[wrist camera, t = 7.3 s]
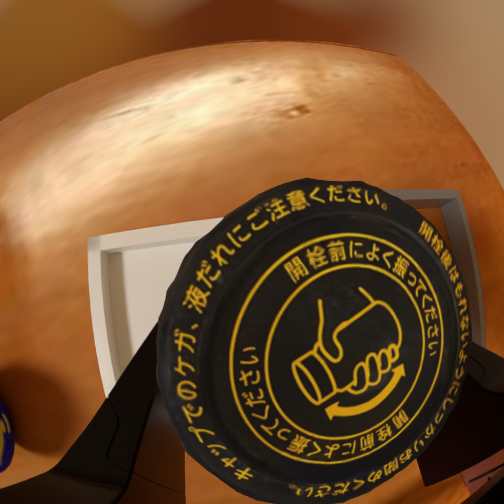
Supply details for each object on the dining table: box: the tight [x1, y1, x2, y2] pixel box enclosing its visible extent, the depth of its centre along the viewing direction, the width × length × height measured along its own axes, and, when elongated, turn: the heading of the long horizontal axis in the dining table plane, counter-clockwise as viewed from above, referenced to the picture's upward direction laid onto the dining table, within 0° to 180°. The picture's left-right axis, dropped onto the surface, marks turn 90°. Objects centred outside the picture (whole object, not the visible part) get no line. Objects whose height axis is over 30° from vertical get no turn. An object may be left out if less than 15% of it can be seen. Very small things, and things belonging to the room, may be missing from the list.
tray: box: [88, 217, 224, 398], centre depth 19 cm, size 16×15×2 cm
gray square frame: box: [383, 189, 486, 348], centre depth 21 cm, size 20×20×3 cm
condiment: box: [156, 178, 472, 504], centre depth 9 cm, size 7×8×12 cm
